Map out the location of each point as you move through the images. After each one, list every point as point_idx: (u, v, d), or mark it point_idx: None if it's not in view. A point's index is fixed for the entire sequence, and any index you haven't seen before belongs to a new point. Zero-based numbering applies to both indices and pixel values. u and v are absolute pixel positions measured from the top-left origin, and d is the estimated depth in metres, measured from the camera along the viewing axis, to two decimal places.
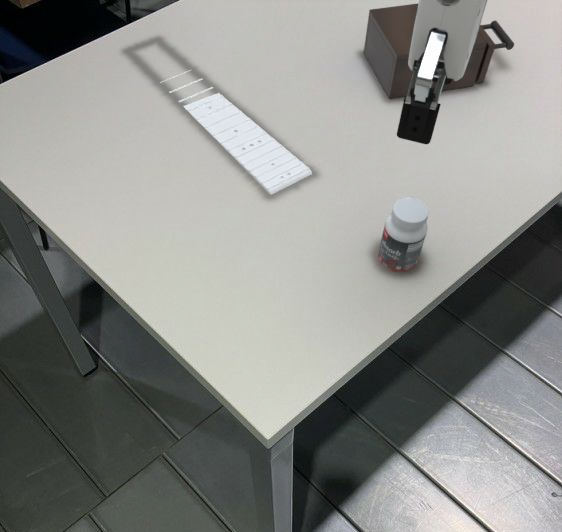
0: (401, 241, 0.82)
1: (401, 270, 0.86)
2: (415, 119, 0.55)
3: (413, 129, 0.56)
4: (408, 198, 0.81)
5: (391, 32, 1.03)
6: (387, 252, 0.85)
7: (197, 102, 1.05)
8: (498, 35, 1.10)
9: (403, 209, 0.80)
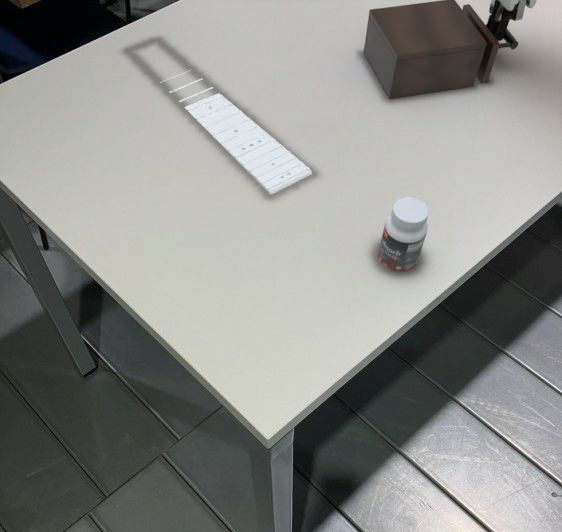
0: (401, 241, 0.82)
1: (401, 270, 0.86)
2: (500, 28, 1.07)
3: (498, 34, 1.08)
4: (408, 198, 0.81)
5: (391, 32, 1.03)
6: (387, 252, 0.85)
7: (197, 102, 1.05)
8: None
9: (403, 209, 0.80)
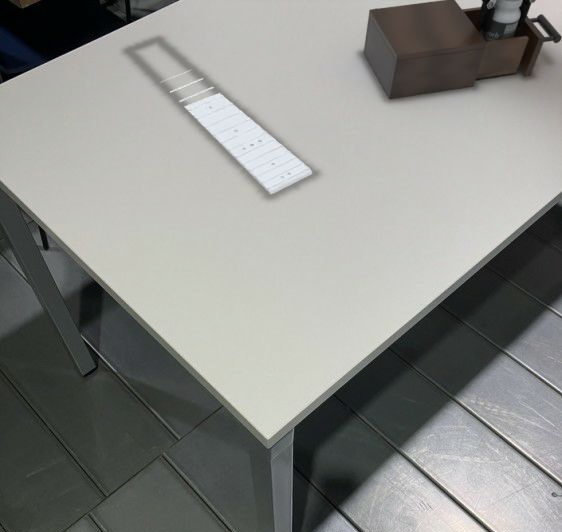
0: (500, 22, 1.05)
1: None
2: (482, 11, 1.05)
3: (480, 18, 1.06)
4: None
5: (391, 32, 1.03)
6: (486, 37, 1.08)
7: (197, 102, 1.05)
8: (545, 28, 1.11)
9: None
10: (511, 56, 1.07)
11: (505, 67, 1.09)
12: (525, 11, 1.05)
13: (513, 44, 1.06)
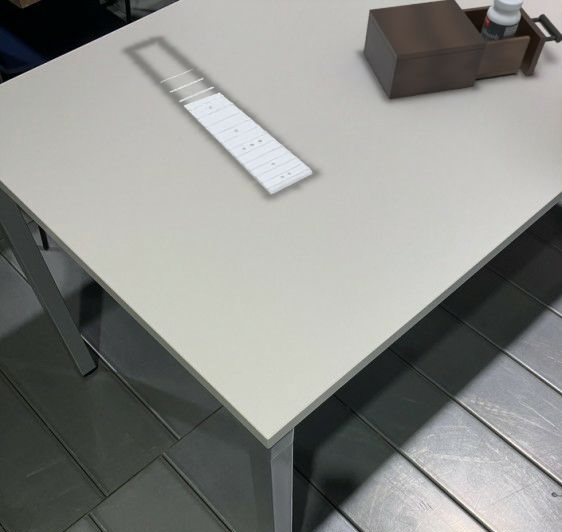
0: (500, 24, 1.05)
1: None
2: None
3: None
4: None
5: (391, 32, 1.03)
6: (486, 39, 1.08)
7: (198, 102, 1.05)
8: (547, 28, 1.11)
9: None
10: (513, 56, 1.08)
11: (507, 67, 1.09)
12: None
13: (515, 44, 1.06)
